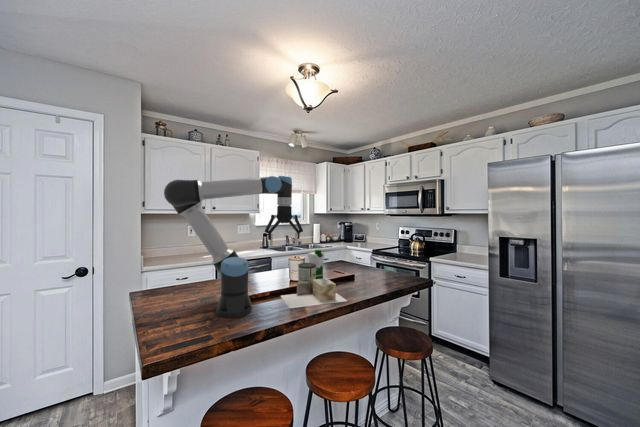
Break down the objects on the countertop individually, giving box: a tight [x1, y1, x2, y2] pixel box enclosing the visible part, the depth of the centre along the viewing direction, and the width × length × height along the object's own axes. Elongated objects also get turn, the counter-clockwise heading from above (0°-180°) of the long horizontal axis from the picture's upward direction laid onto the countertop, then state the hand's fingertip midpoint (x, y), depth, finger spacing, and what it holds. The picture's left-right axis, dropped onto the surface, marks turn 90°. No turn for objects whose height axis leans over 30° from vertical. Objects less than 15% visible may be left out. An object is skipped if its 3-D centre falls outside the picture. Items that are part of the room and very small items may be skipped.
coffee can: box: [297, 262, 316, 284], centre depth 159 cm, size 10×10×14 cm
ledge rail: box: [296, 282, 313, 295], centre depth 150 cm, size 20×2×7 cm, turn 112°
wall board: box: [280, 292, 348, 309], centre depth 141 cm, size 30×19×1 cm, turn 112°
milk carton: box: [307, 249, 325, 279], centre depth 176 cm, size 9×9×20 cm
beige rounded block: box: [313, 277, 337, 302], centre depth 143 cm, size 8×12×8 cm, turn 22°
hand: (283, 245), depth 145 cm, fingers open, 13 cm apart
